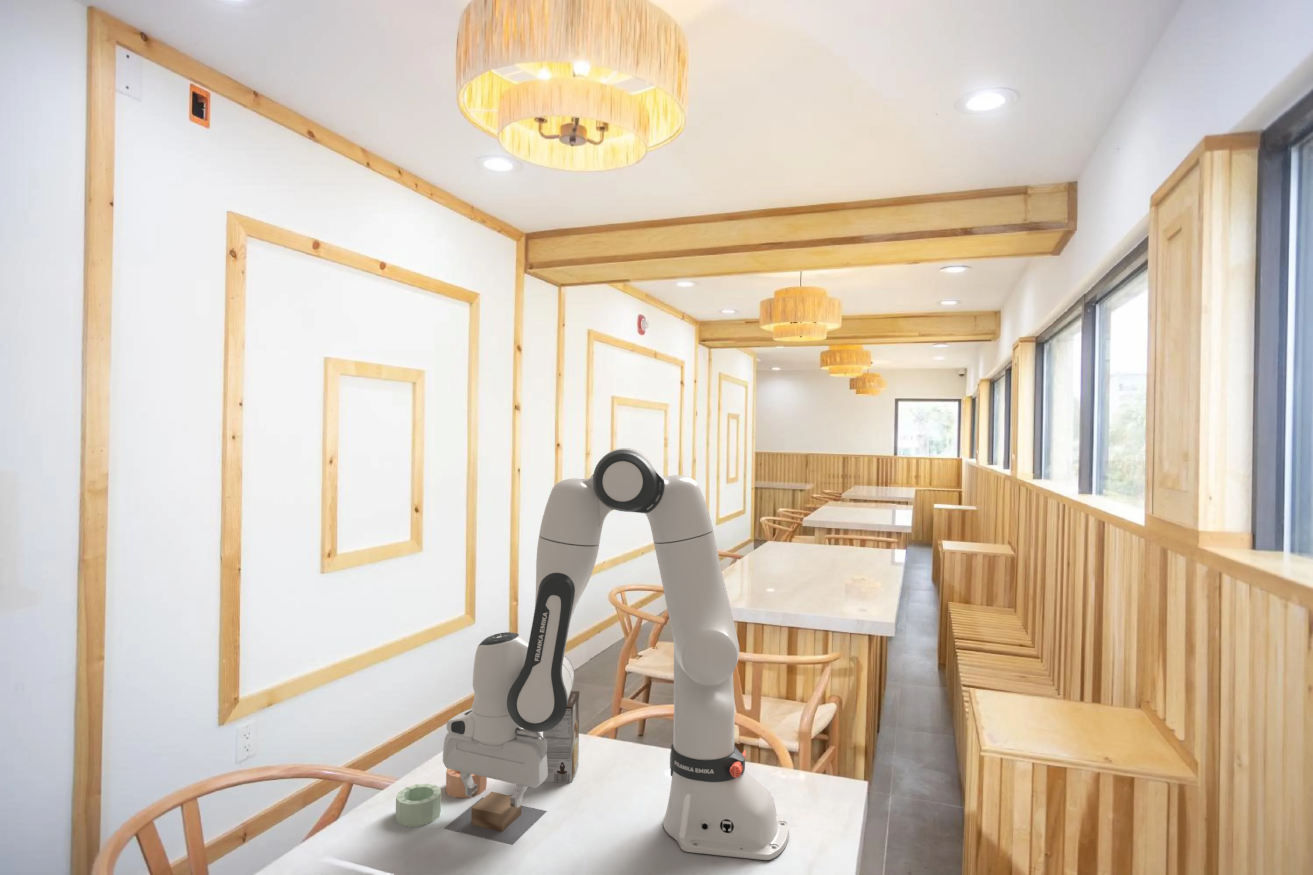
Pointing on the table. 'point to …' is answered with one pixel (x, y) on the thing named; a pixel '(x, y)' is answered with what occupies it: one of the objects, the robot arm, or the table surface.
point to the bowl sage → (418, 805)
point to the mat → (507, 836)
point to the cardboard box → (494, 812)
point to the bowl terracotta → (462, 784)
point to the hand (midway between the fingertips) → (493, 800)
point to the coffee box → (564, 744)
